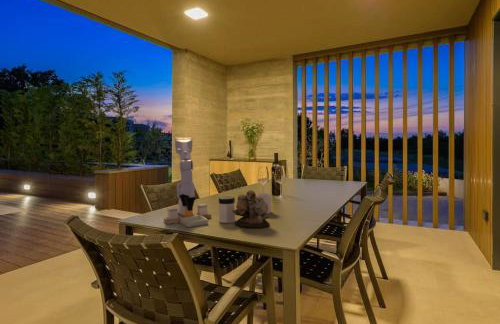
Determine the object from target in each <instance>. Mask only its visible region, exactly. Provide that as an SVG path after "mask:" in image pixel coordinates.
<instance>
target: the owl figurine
mask: <svg viewBox="0 0 500 324" xmlns="http://www.w3.org/2000/svg"><path fill="white" fill-rule="evenodd" d="M267 211H268V204H267V203H265V201H264V200H263V198H262V197H257V193H256V192H255V191H254V190H252V189H250V190H248V191H246V194H244V193H241V194H238V196H237V202H236V205H235V210H233V213H235V216H238V217H240V218H238V219H237V220H235V222H234V225H235V227H237V228H241V229H242V228H243V229H246V230H247V229H249V230H250V229H251V230H255V229H256V230H258V229H260V230H261V229H265V228H269V227H270V226H271V225H270V224H271V223H269V222H268V220H267V219H269V218H270V215H269V214H266V213H267Z"/></svg>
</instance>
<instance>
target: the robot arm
mask: <svg viewBox="0 0 500 324" xmlns="http://www.w3.org/2000/svg"><path fill="white" fill-rule="evenodd" d="M174 146H175V147H174V148H175V153H176V154H177V155H179V172H180V181H179V182H178V183H177V184H176V197H177V198H178V204H177V205H178V207H177V208H178V210H177V212H178V214H179V215H183V206H187V209H188V211H191V210H192V209H193V210H194V203H195V200H196V198H197V196H195V195H196V194H195V193H196V192H195V191H196V189H195V183H194V182H193V169H194V162H193V159H192V157H191V154H192V151H193V138H192V137H175V138H174ZM193 213H196V212H195V211H193Z"/></svg>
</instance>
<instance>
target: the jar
mask: <svg viewBox="0 0 500 324" xmlns="http://www.w3.org/2000/svg"><path fill="white" fill-rule="evenodd" d="M235 198H236V197H235V196H232V195H231V196H230V195H229V196H227V195H226V196H225V195H224V196H220V197H218V222H219V223H223V224H229V223H235V222H236V215H235V213H233V210H236V203H235V202H236V199H235Z"/></svg>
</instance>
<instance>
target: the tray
mask: <svg viewBox="0 0 500 324" xmlns="http://www.w3.org/2000/svg"><path fill="white" fill-rule="evenodd" d="M180 222H181V223H182V224H181V223H180V224H181V225H183V226H184V225H185V226H184V227H186V228H187V227H188V228H192V227H193V226H194V227H198V226H205V225H209V219H207V218H205V217H203V216H201V215H198V216H191V217H184V218H180ZM194 227H193V228H194Z"/></svg>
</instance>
